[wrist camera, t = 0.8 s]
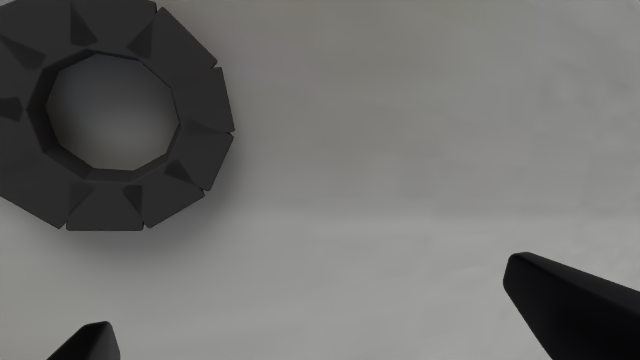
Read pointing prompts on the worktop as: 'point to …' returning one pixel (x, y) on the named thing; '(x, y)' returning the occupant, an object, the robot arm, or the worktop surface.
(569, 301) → the robot arm
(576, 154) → the worktop surface
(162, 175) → the rubber ring
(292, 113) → the worktop surface
